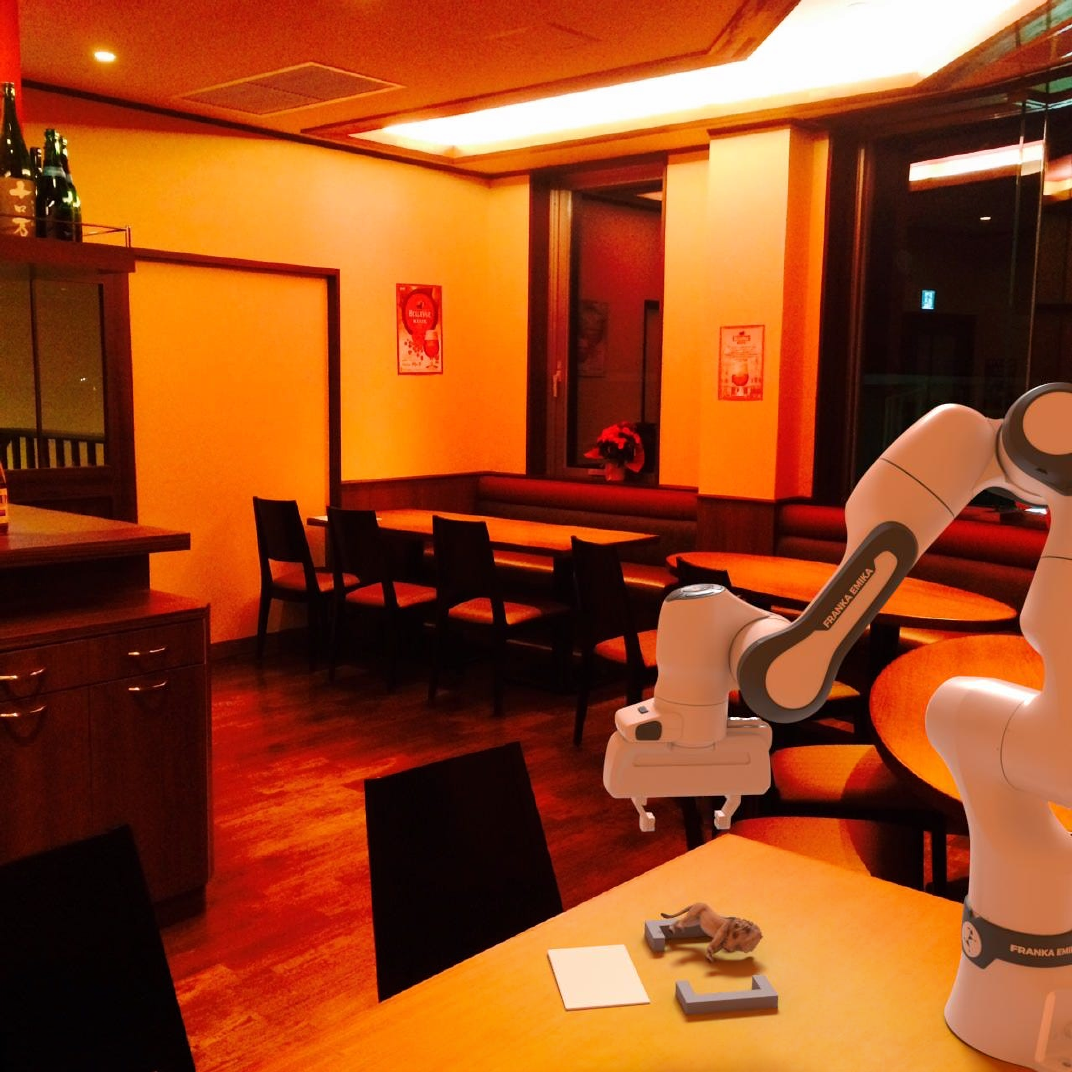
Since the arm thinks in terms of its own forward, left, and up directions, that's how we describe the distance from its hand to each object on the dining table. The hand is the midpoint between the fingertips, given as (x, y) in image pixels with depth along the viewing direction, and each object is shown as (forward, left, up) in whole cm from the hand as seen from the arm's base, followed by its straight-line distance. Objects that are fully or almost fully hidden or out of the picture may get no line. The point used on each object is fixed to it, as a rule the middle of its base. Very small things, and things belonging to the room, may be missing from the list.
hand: (684, 828), depth 130 cm
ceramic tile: (+11, 0, -19) cm, 21 cm away
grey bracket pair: (-3, 0, -19) cm, 19 cm away
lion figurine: (-2, -3, -17) cm, 17 cm away
